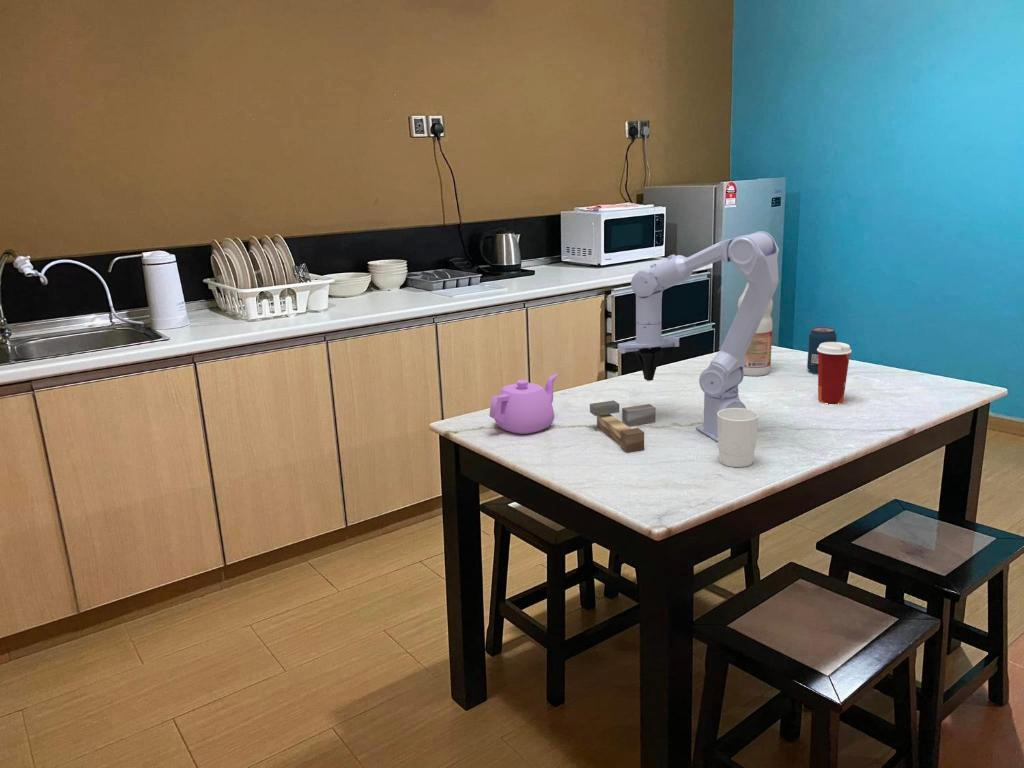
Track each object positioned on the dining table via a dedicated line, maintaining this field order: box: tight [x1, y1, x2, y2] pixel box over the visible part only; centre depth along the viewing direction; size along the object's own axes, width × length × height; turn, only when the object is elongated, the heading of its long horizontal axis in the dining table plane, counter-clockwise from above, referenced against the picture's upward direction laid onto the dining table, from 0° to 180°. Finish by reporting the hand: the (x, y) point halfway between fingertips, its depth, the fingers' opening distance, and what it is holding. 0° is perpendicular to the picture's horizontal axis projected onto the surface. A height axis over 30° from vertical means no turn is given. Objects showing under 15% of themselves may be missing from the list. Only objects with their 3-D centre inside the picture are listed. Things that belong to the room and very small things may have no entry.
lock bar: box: [589, 399, 620, 417], centre depth 179 cm, size 3×6×2 cm, turn 107°
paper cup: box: [817, 341, 853, 405], centre depth 189 cm, size 8×8×14 cm
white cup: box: [717, 408, 760, 468], centre depth 157 cm, size 8×8×10 cm
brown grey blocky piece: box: [596, 403, 656, 454], centre depth 175 cm, size 18×14×4 cm
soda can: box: [806, 326, 838, 375], centre depth 213 cm, size 7×7×12 cm
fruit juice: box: [737, 282, 774, 377], centre depth 214 cm, size 9×9×28 cm
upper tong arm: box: [596, 414, 632, 439], centre depth 174 cm, size 14×3×2 cm, turn 17°
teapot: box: [488, 373, 559, 435], centre depth 183 cm, size 13×20×11 cm
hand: (648, 379), depth 183 cm, fingers closed
